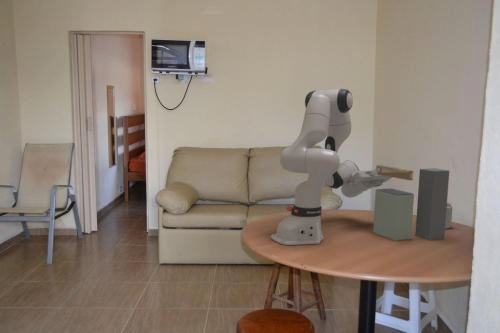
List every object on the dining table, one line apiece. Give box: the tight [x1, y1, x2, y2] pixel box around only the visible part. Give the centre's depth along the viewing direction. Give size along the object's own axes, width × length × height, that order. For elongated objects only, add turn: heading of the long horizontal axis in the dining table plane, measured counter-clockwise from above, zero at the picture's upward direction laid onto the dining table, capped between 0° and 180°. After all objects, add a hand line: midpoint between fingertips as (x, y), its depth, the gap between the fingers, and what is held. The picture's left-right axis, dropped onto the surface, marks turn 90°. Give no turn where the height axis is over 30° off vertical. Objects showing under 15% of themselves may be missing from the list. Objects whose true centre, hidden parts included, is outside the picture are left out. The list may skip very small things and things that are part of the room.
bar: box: [375, 164, 414, 181], centre depth 195 cm, size 2×20×4 cm, turn 25°
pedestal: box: [415, 167, 450, 241], centre depth 195 cm, size 9×8×30 cm
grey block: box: [372, 187, 415, 242], centre depth 197 cm, size 9×14×20 cm, turn 25°
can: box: [445, 202, 453, 230], centre depth 213 cm, size 8×8×12 cm
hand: (383, 169), depth 201 cm, fingers closed on bar, 2 cm apart
